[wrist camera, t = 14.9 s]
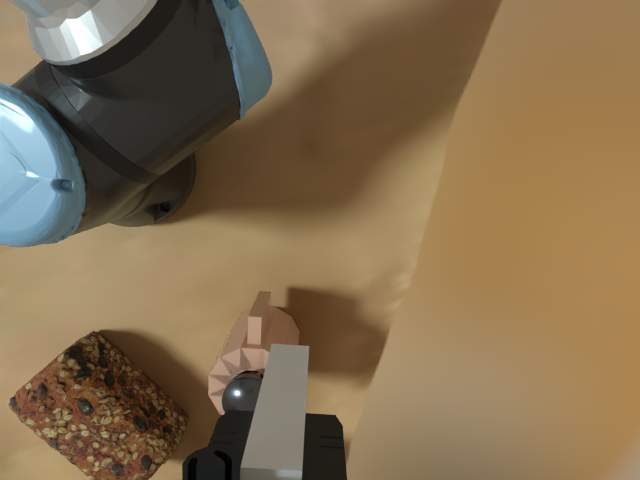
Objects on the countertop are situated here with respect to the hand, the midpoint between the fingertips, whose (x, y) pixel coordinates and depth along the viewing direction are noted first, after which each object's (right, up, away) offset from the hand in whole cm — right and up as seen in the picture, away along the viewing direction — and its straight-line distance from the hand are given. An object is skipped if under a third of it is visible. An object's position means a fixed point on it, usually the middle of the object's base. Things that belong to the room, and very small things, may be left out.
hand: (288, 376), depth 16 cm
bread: (-26, -16, +41) cm, 51 cm away
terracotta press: (-6, -6, +39) cm, 40 cm away
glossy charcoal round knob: (-6, -8, +36) cm, 37 cm away
